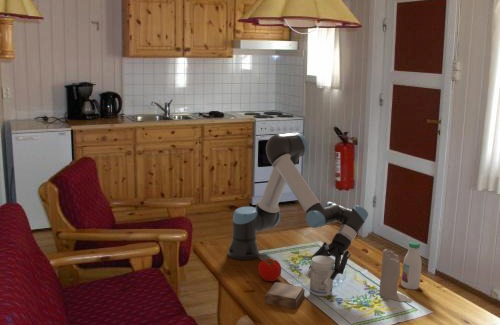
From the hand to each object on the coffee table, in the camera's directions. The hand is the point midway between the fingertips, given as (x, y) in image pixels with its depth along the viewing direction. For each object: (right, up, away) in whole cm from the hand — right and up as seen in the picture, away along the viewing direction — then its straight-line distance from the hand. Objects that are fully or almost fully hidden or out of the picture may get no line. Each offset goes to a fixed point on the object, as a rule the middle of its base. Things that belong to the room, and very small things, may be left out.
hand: (316, 280), depth 224 cm
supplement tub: (+2, -6, +3) cm, 7 cm away
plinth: (-14, -6, -5) cm, 16 cm away
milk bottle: (+43, -5, +13) cm, 45 cm away
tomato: (-19, -3, +15) cm, 24 cm away
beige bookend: (+33, -7, +2) cm, 34 cm away
